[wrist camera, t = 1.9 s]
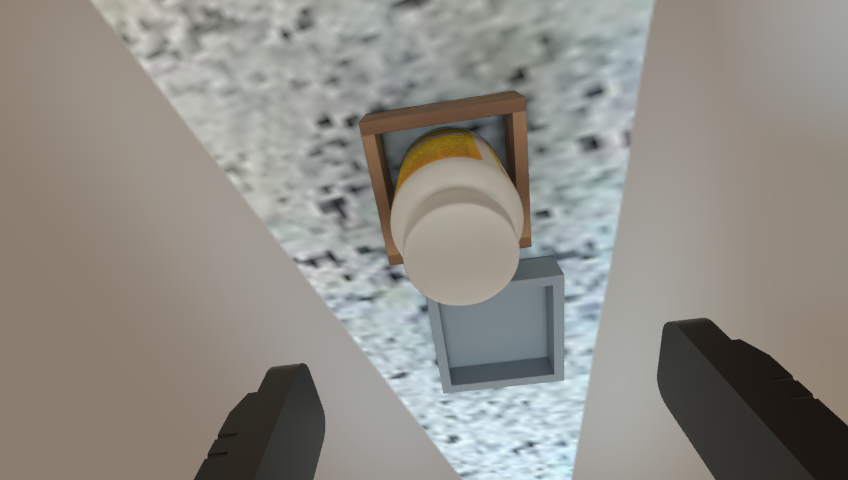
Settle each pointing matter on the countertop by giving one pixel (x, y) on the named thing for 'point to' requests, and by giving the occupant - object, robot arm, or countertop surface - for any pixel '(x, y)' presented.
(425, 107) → the wooden square frame
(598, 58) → the countertop surface
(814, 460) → the robot arm
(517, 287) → the tray
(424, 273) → the supplement bottle
